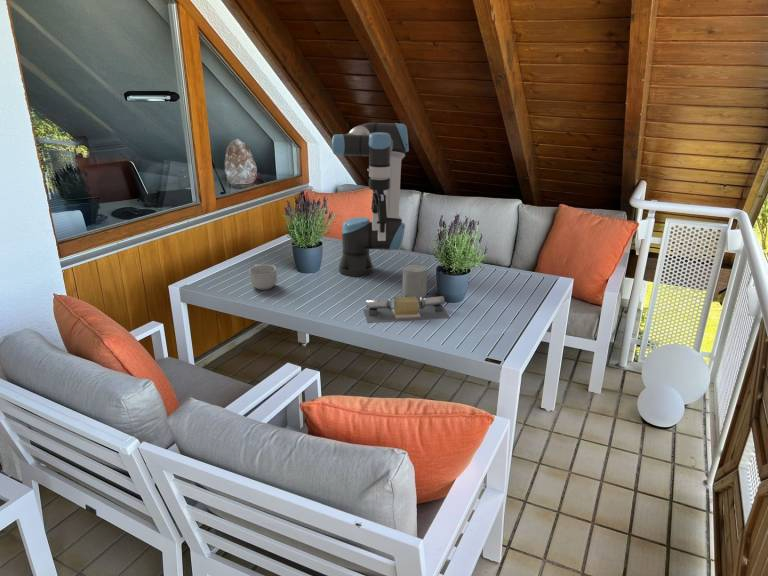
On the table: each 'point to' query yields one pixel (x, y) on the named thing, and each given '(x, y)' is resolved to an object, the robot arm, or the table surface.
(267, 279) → the teacup
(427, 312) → the board
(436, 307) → the shaft
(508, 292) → the table surface
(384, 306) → the shaft
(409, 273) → the speckled tin can
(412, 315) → the off-white flat plate
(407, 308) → the coupler
